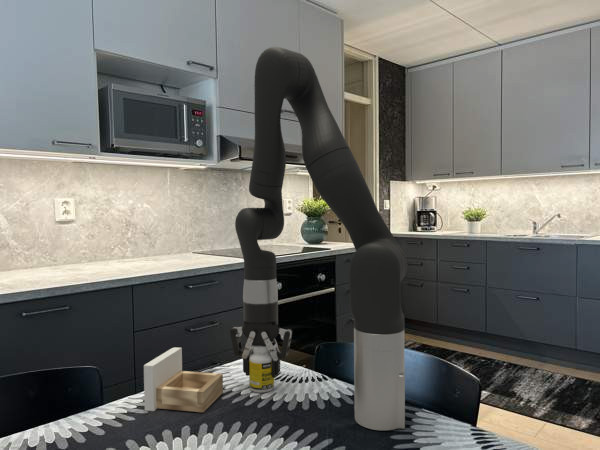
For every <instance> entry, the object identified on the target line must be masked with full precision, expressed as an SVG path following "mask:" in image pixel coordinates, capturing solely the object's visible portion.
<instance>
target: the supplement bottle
mask: <svg viewBox="0 0 600 450" xmlns="http://www.w3.org/2000/svg"><path fill="white" fill-rule="evenodd" d="M252 352H253V353H251V354H250V358H249V377H248V378H249V379H248V380H249V383H248V384H249V389H250V391H251V392H253V393H259V394H260V393H261V394H262V393H263V394H264V393H268V392H271V391H272V390H273V389H274V388H275V378H274V377H272V360H273V359H272V356H271V354H270V352H269V351H268V349H267V346H261V345H258V346H253V349H252Z"/></svg>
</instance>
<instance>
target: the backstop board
mask: <svg viewBox="0 0 600 450" xmlns="http://www.w3.org/2000/svg"><path fill="white" fill-rule="evenodd" d="M182 349H183V348H182V347H172V348H170V349H168V350H166V351H165V352H163V353H161V354H159V356H158V355H157V356H156V357H155V358H153V359H152V360H150V361H149V362H147V363H145V364H144V365H143V384H144V385H143V391H144V392H143V393H144V394H143V395H144V397H143V399H144V411H148V412H155V411H156V410H157V409H158V408H157V406H156V388H157V387H159V386H160V385H161V384H163V383H164V382H165V381H167V380H168V379H169V378H171V377H172V376H174V375H175V374H176V373H178V372H179V371H183V354H182V353H183V350H182Z"/></svg>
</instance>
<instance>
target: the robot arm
mask: <svg viewBox="0 0 600 450" xmlns="http://www.w3.org/2000/svg"><path fill="white" fill-rule="evenodd" d="M254 69H255V70H254V84H253V85H254V146H253V156H252V163H251V170H250V176H249V177H250V178H249V184H248V191H249V193H250V195H251V196H253V197H254V198H257V199H260V200H263V201H264V202H263V203H264V207H244V208H242V209H240V210H239V212H238V214H237V215H236V217H235V222H234V226H235V231H236V233H235V234H236V237H237V239H238V242H239V246H240V250H241V254H242V258H243V270H244V271H243V277H244V278H243V279H244V280H243V287H242V288H243V289H242V292H243V293H242V299H243V300H242V301H243V303H242V304H243V306H242V307H243V308H242V309H243V325H241V326H234V327H232V328H231V329H229V334H230V338H231V339H230V340H231V345H232V349H233V350H232V351H233V353H234V356H236V357H237V356H239V357H241V359H242V371H243V373H244V374H245V377H246V376H247V377H248V376H249V358H250V355H251V354H252V352H253V350H252V349H253V346H258V345H261V346H267V349H268V351H269V352H270V354H271V356H272V359H273V360H272V377H274V379H275V378H277V376H278V375H279V374H280V373H281V359H286V357H287V356H288V355H289V352H290V346H291V341H292V336H293V330H292V329H291V328H288V329H284V328H281V327H280V324H279V300H278V299H279V297H278V296H279V294H278V293H279V289H278V282H277V257H276V254H275V253H274V252H272V251H269V250H264V249H262V248H261V247H260V244H259V243H258V241H263V240H265V241H266V240H268V241H269V240H275V239H278V237H280V235H281V234H282V232H283V231H284V227H285V213H284V205H283V193H282V192H283V191H282V190H283V186H284V185H283V184H284V179H285V174H286V166H287V154H286V149H285V141H284V139H283V134H282V126H281V124H282V123H281V117H282V116H281V115H282V109H283V108H282V107H283V105H284V104H283V103H284V100H286V101H287V102H288V103H289V105H290V107H291V108H292V110H293V113H294V115H295V117H296V118H297V120H298V123H299V126H300V131H301V151H302V152H301V153H302V154H301V155H302V159H303V160H302V161H303V163H304V166H305V168H306V171H307V173H308V175H309V176H310V179H311V181H312V183H313V185H314V187H315V189H316V191H317V192H318V194H319V196H320V197H321V198H322V200H323V201H324V203H325V204H326V205H327V206H328V208H329V209H330V210H331V211H332V212H333V213H334V214H335V216H336V217H337V218H338V219H339V221H340V222H341V223H342V225H343V226H344V227H345V229H346V231H347V234H348V235H349V238H350V239H351V242H352V244H353V247H354V249H355V252H354V253H353V254H352V257H351V260H350V263H349V273H348V276H349V297H350V298H349V302H350V305H349V306H350V312H351V315H352V318H353V357H354V358H353V361H354V363H353V370H354V371H353V375H354V380H353V381H354V382H353V384H354V385H353V386H354V389H353V390H354V392H353V393H354V394H353V395H354V396H353V397H354V405H353V409H354V420H355V422H356V424H358V425H359V426H361V427H363V428H366V429H370V430H373V431H394V430H396V429H403V430H404V429H405V428H406V403H405V402H406V391H405V390H406V379H405V378H406V374H405V372H406V371H405V370H406V369H405V366H406V365H405V324H406V323H405V314H404V313H403V309H402V301H401V300H402V299H401V298H402V296H401V295H402V293H401V282H402V281H403V280H404V278H405V276H406V275H407V271H408V261H407V258H406V255H405V252H404V251H403V249H402V247H401V245H400V244H399V243H398V241H397V239H396V238H395V236H394V235H393V233H392V232H391V230H390V229H389V227H388V226H387V224H386V222H385V221H384V219H383V217H382V215H381V214H380V212H379V210H378V208H377V205H376V203H375V201H374V197H373V195H372V193H371V190H370V188H369V186H368V184H367V181H366V180H365V177H364V175H363V173H362V170H361V169H360V167H359V164H358V162H357V160H356V158H355V156H354V154H353V152H352V150H351V148H350V147H349V144H348V142H347V140H346V139H345V137H344V135H343V133H342V131H341V129H340V127H339V125H338V123H337V121H336V119H335V117H334V115H333V113H332V111H331V110H330V109H331V108H329V105H328V102H327V100H326V98H325V95H324V92H323V89H322V86H321V84H320V81H319V79H318V76H317V74H316V71H315V69H314V66H313V64H312V62H311V61H310V60H309V58H308V57H307V56H305V55H303V54H302V53H299V52H297V51H293V50H290V49H287V48H284V47H283V48H282V47H279V46H271V47H268V48H265V49H264V50H263V51H262V52H261V54H260V55H259V57H258V58H257V61H256V64H255V68H254ZM242 334H244V337H245V338H246V339H247V340H246V343H245V345H244V347H243V343H242V338H241V336H242ZM278 335H280V339H281V340H282V344H281V345H282V346H281V349H279V347H278V346H279V345H278V342H277V340H276V338H277V337H278Z"/></svg>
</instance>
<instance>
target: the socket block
mask: <svg viewBox="0 0 600 450" xmlns="http://www.w3.org/2000/svg"><path fill="white" fill-rule="evenodd" d="M223 376H224V375H223V373H215V372H203V371H201V372H200V371H188V370H182V371H179V372H178V373H176V374H175V375H174V376H172V377H171V378H169V379H168V380H167V381H165V382H164V383H163V384H161V385H160V386H159V387H157V388H156V406H157V409H160V410H161V409H163V410H172V411H173V410H174V411H183V412H193V413H194V412H196V413H205V412H206V410H207V409H208V408H210V407H211V406H212V404H213V403H214V402H215V401H216V400H217V399H218V398H219V397H221V395H222V394H223V393H224V377H223Z"/></svg>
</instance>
